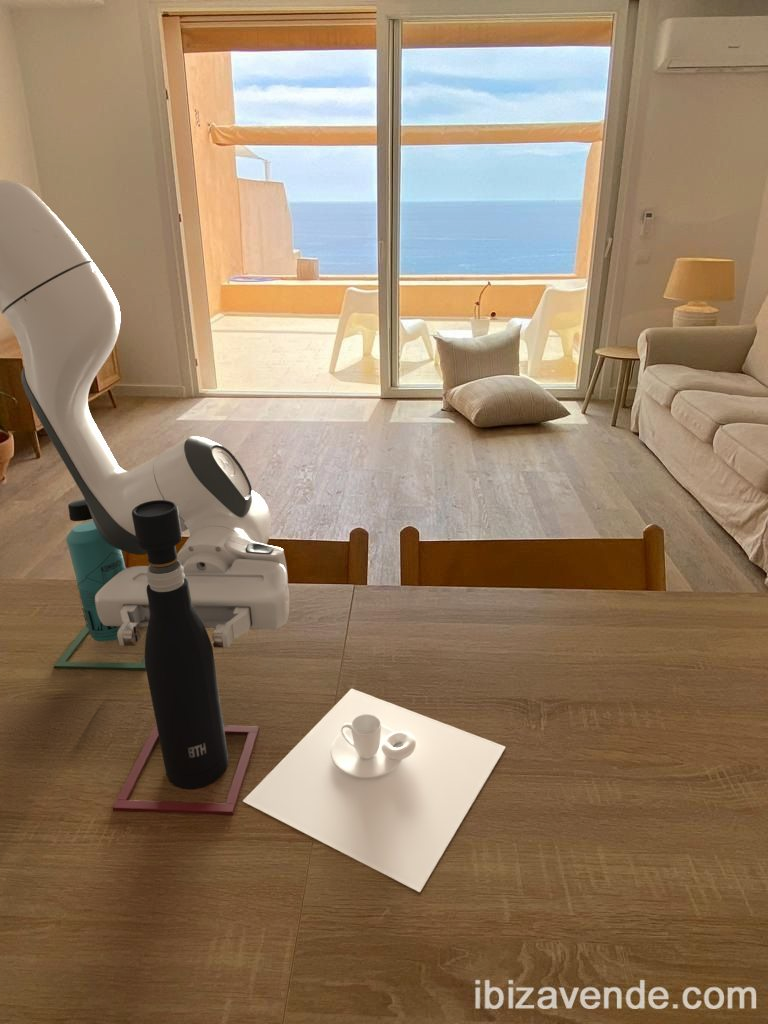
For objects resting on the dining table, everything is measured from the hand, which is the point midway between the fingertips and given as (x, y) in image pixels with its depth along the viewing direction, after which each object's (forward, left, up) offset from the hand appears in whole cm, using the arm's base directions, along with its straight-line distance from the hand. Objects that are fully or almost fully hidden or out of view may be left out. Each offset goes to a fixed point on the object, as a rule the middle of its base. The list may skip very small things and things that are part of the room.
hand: (172, 641), depth 67 cm
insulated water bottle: (+1, 0, -16) cm, 16 cm away
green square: (-17, +21, -16) cm, 31 cm away
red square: (0, -1, -16) cm, 16 cm away
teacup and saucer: (+20, -1, -16) cm, 25 cm away
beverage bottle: (-17, +21, -15) cm, 31 cm away
